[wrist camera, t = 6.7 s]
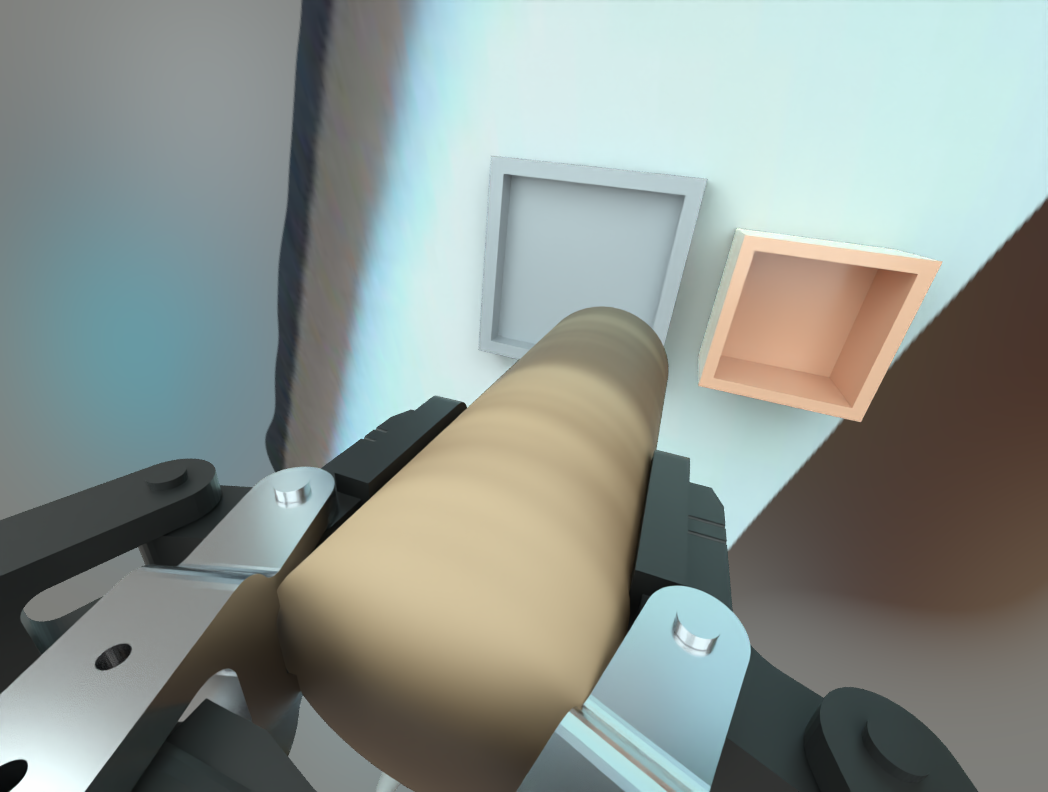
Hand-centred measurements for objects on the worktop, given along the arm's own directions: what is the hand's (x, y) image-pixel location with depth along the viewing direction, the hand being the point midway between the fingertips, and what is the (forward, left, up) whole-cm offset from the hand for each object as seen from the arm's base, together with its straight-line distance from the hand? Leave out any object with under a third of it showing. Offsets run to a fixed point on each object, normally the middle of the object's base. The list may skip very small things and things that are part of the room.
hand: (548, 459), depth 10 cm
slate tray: (0, -5, -25) cm, 25 cm away
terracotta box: (0, +9, -25) cm, 27 cm away
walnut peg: (0, 0, -6) cm, 6 cm away
